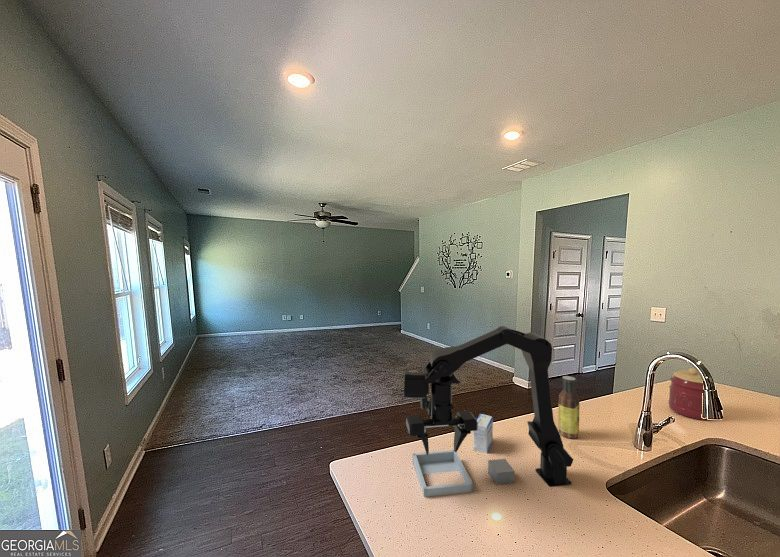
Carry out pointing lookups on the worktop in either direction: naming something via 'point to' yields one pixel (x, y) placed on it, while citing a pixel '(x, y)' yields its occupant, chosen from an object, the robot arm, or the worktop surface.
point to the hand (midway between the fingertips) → (441, 452)
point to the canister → (686, 393)
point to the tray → (439, 464)
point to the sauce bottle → (568, 409)
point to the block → (501, 471)
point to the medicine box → (483, 433)
